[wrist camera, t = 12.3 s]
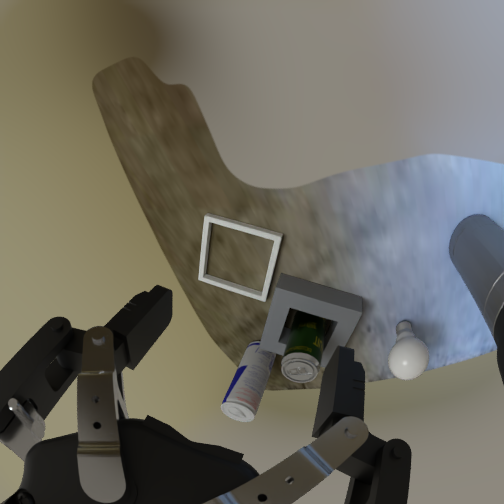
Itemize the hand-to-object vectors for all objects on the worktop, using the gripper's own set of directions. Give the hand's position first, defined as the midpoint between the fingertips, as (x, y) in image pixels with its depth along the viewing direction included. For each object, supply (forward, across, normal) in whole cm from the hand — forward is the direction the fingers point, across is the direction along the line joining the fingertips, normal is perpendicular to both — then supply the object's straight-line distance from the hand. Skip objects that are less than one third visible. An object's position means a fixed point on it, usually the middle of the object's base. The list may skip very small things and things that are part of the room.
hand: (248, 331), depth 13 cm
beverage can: (+28, 0, +32) cm, 42 cm away
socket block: (+28, -6, +20) cm, 35 cm away
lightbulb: (+28, -21, +17) cm, 39 cm away
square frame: (+28, +8, +14) cm, 32 cm away
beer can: (+28, -6, +20) cm, 35 cm away
